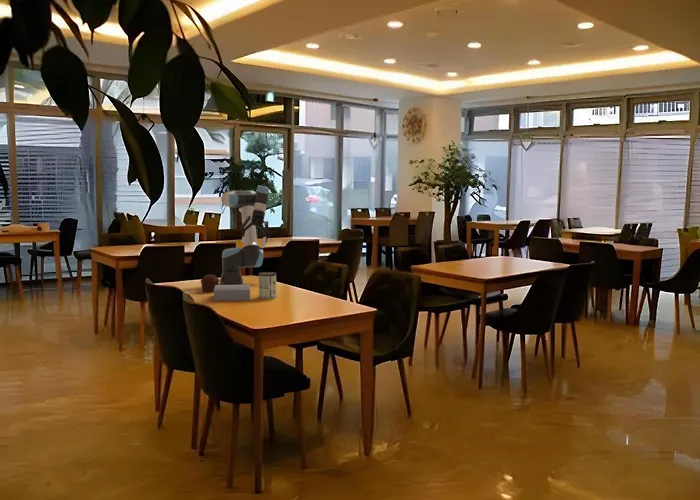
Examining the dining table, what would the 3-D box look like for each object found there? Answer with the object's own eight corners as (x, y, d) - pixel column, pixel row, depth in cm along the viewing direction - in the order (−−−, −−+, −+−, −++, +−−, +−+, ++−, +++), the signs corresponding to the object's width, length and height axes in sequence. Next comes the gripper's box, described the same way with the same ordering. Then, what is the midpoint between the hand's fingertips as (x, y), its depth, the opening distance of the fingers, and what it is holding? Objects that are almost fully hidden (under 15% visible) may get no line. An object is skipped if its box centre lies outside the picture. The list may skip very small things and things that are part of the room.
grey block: (215, 295, 390) (215, 285, 390) (250, 294, 393) (250, 284, 393) (213, 300, 370) (213, 290, 370) (250, 300, 373) (250, 289, 373)
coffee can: (260, 295, 390) (260, 271, 389) (278, 296, 389) (278, 272, 388) (256, 298, 380) (256, 274, 379) (274, 298, 379) (274, 274, 378)
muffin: (214, 293, 397) (214, 276, 396) (197, 292, 400) (197, 275, 399) (222, 290, 409) (222, 274, 408) (205, 289, 411) (205, 273, 410)
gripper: (244, 204, 394) (237, 239, 389) (279, 215, 408) (274, 249, 403) (238, 206, 400) (231, 240, 395) (273, 217, 414) (267, 250, 409)
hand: (253, 245), depth 399 cm, fingers open, 13 cm apart
